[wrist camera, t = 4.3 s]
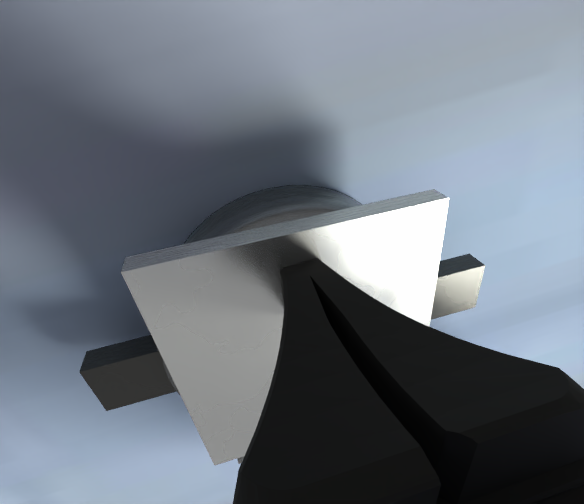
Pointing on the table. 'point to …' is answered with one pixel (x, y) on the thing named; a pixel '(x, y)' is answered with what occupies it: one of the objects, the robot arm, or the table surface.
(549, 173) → the table surface
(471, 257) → the pot
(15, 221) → the table surface
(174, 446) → the table surface
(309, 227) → the lid
